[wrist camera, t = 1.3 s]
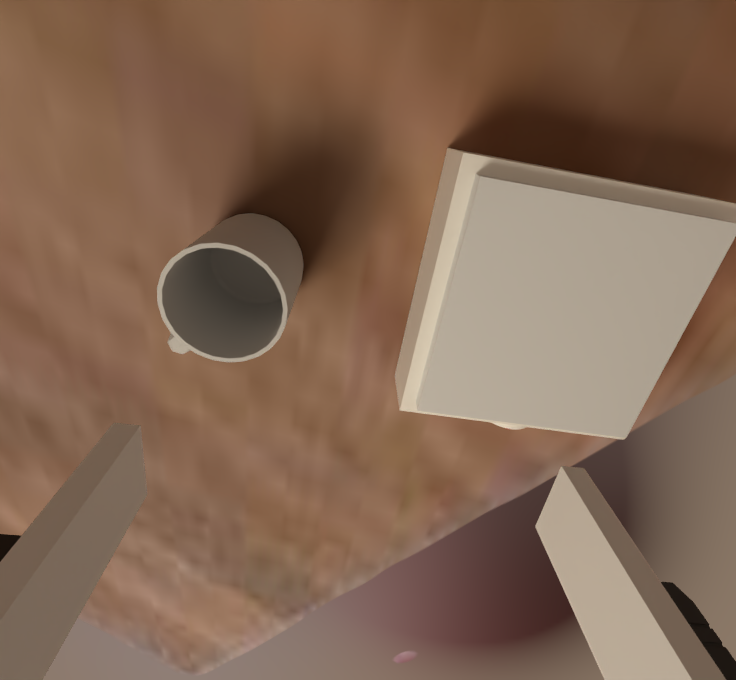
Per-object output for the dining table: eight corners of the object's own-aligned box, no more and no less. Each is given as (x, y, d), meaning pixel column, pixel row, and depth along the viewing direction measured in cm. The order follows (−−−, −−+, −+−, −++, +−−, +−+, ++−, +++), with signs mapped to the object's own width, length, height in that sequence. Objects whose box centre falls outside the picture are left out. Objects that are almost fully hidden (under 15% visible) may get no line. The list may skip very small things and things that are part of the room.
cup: (325, 264, 33) (314, 310, 25) (236, 344, 36) (201, 408, 28) (252, 189, 30) (214, 213, 22) (163, 281, 33) (101, 331, 25)
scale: (447, 147, 29) (468, 153, 24) (693, 194, 31) (767, 210, 25) (392, 384, 38) (398, 429, 32) (589, 411, 39) (627, 458, 34)
